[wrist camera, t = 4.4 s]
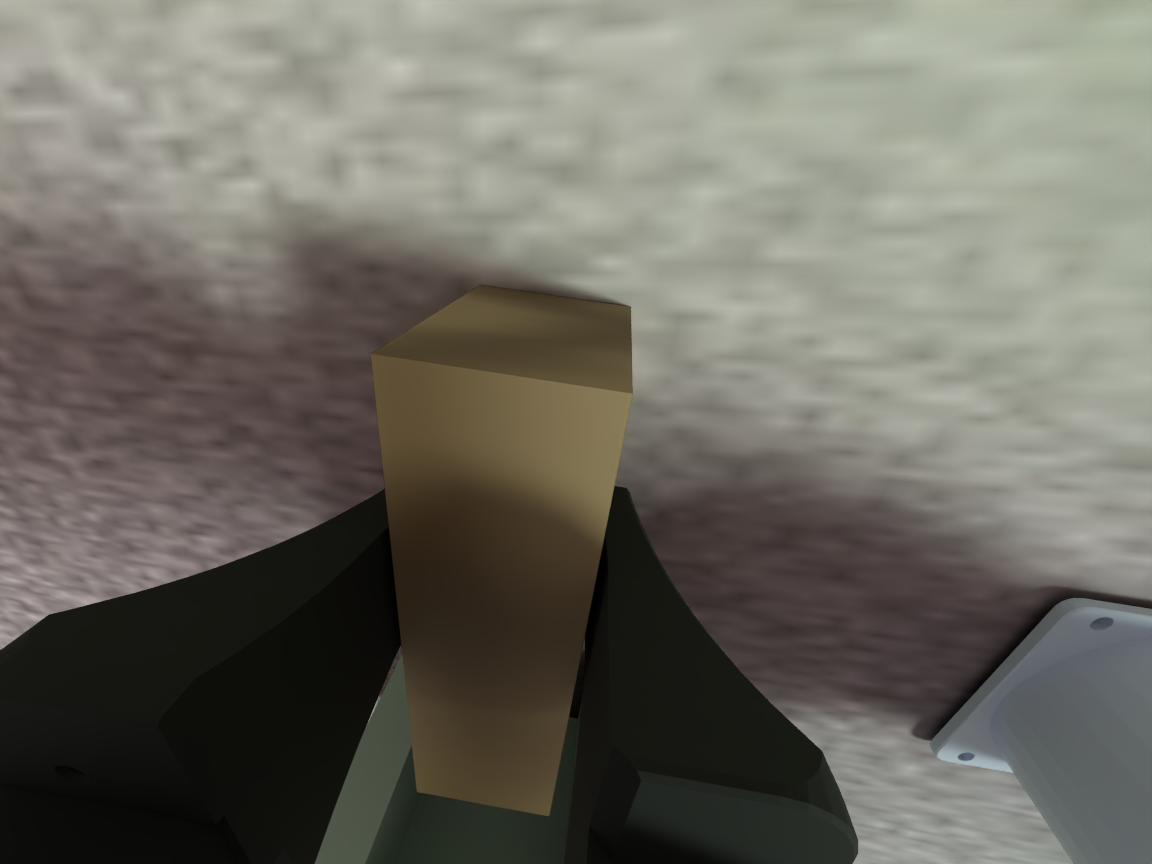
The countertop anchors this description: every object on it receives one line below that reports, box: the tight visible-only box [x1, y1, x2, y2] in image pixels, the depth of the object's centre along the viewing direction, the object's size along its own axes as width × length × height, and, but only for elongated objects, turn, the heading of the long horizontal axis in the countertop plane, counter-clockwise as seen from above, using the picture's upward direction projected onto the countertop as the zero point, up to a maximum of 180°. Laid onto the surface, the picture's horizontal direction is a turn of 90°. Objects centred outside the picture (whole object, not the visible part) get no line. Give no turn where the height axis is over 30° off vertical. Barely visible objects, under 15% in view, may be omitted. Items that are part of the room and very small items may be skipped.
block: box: [315, 655, 583, 864], centre depth 14 cm, size 8×5×7 cm, turn 83°
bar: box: [371, 285, 633, 816], centre depth 11 cm, size 4×12×5 cm, turn 173°
